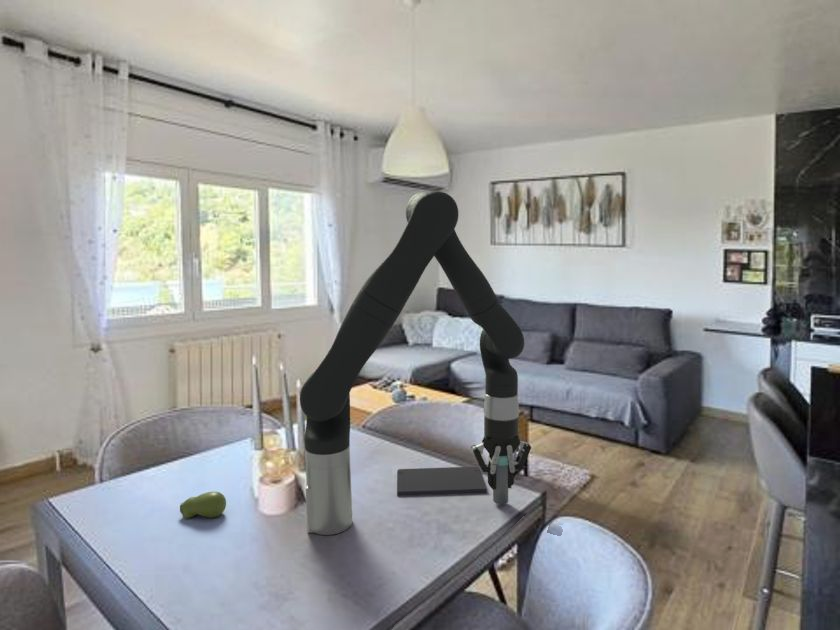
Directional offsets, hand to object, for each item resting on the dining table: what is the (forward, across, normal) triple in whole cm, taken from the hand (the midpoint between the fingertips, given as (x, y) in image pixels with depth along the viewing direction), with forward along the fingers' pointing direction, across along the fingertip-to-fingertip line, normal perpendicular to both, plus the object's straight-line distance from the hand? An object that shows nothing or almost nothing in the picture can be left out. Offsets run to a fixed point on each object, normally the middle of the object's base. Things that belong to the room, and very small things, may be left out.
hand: (500, 487), depth 118 cm
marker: (+3, 0, 0) cm, 3 cm away
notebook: (+5, -12, +13) cm, 18 cm away
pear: (+5, -66, +7) cm, 66 cm away
